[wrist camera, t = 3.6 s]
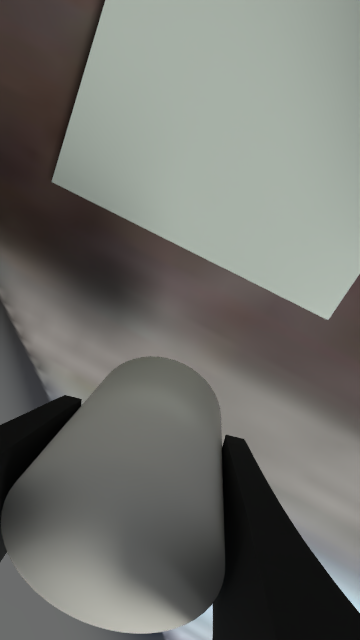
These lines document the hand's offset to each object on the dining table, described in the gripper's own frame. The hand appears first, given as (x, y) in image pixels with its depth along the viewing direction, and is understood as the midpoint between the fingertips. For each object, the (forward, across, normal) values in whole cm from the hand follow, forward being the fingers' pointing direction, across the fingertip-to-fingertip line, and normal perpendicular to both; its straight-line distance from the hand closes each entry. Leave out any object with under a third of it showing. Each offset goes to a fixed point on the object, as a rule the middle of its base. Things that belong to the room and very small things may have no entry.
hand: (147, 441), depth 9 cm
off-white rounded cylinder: (+2, 0, 0) cm, 2 cm away
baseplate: (+8, -2, -14) cm, 16 cm away
